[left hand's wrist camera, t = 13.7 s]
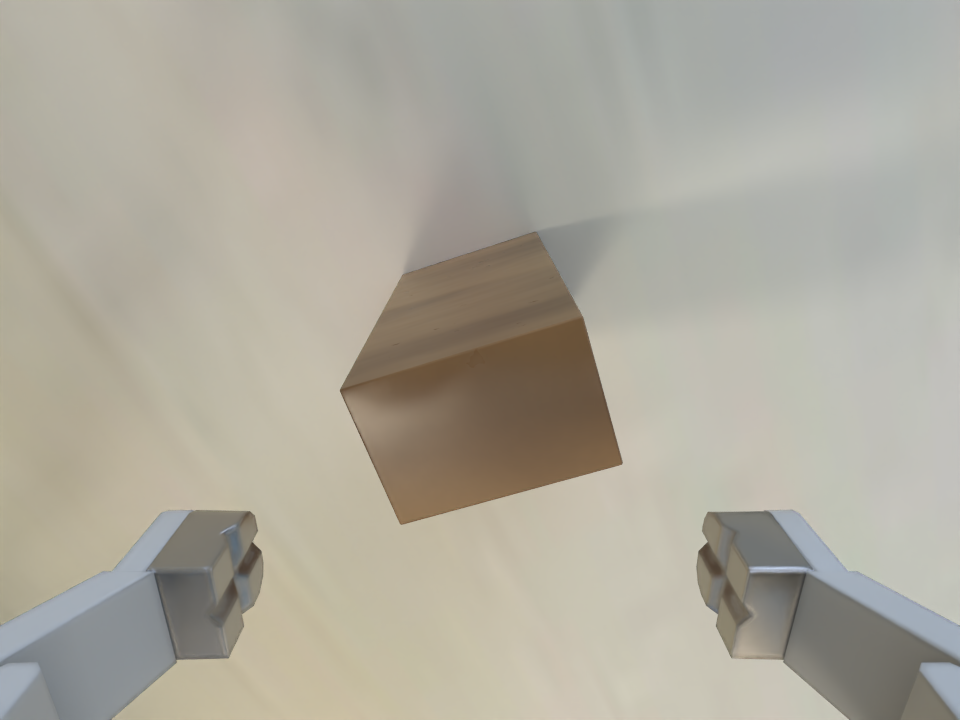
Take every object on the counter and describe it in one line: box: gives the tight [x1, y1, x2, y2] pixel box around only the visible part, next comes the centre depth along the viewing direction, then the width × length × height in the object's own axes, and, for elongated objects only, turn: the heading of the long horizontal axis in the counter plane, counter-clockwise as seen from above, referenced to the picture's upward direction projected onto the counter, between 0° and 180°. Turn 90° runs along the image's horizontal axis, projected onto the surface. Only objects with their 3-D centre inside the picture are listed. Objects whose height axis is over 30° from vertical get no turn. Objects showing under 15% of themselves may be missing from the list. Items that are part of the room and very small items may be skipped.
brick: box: [340, 232, 623, 525], centre depth 20 cm, size 4×6×12 cm
